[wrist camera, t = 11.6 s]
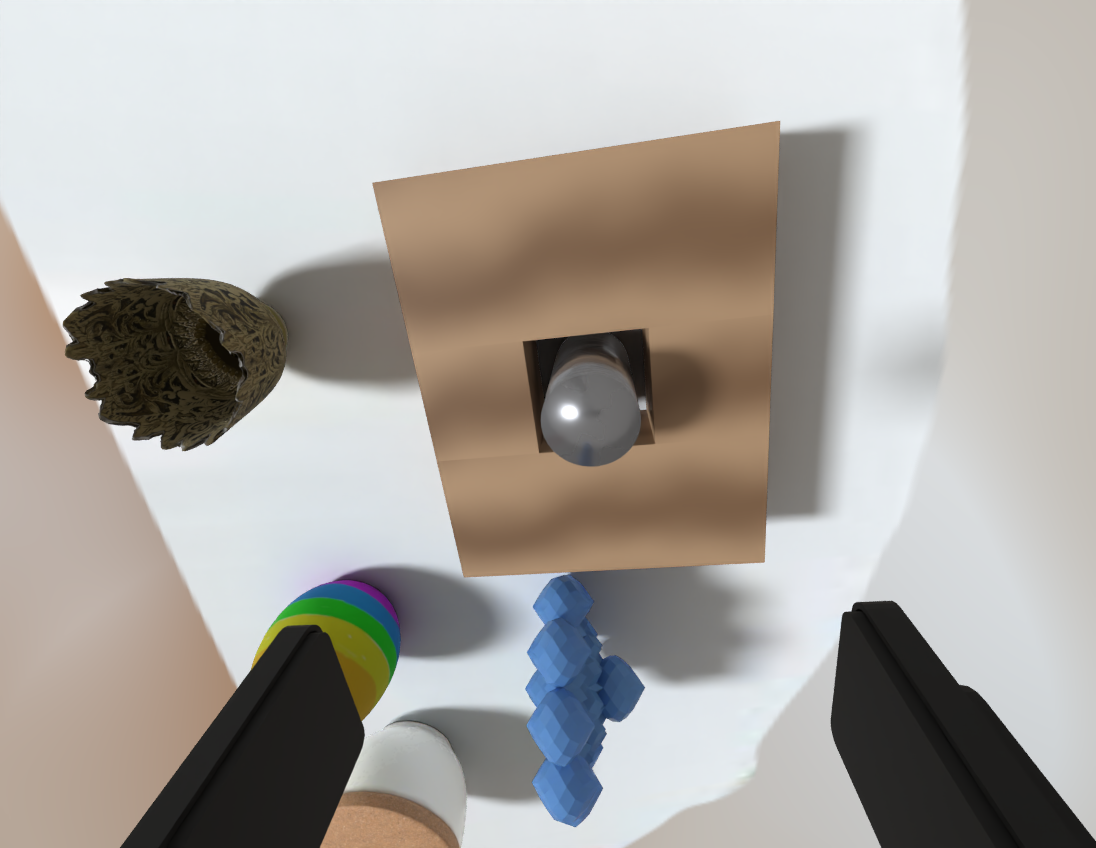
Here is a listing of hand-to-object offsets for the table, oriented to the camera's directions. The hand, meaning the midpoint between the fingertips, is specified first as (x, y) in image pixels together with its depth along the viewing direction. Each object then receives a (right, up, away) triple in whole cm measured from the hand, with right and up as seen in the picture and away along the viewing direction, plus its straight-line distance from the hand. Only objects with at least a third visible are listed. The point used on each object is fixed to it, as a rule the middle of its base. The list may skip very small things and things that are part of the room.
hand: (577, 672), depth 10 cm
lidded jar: (-11, -21, +32) cm, 40 cm away
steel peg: (+2, +8, +19) cm, 20 cm away
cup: (-16, +10, +20) cm, 27 cm away
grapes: (+2, -8, +25) cm, 27 cm away
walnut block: (+2, +8, +19) cm, 20 cm away
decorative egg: (-14, -8, +27) cm, 32 cm away
